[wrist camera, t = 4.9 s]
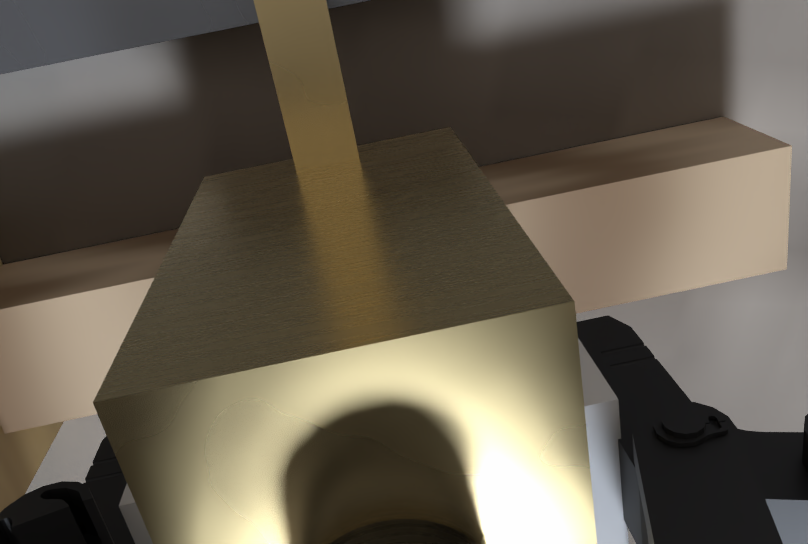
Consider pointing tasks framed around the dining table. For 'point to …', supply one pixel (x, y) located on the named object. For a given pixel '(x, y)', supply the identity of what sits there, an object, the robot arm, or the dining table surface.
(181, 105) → the dining table surface
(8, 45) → the bolt plate
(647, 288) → the bar
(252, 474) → the block
